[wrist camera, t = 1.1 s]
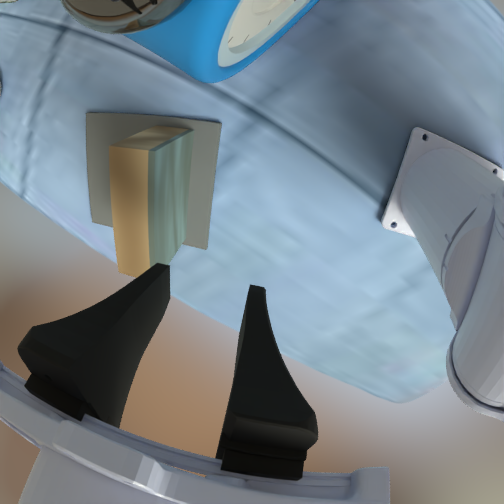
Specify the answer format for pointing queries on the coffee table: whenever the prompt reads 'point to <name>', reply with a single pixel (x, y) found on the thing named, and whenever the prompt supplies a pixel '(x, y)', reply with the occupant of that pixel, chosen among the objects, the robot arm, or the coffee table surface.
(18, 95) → the coffee table surface
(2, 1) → the syrup box
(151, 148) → the oak slab
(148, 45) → the alarm clock
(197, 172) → the rubber mat
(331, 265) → the coffee table surface
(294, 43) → the coffee table surface
